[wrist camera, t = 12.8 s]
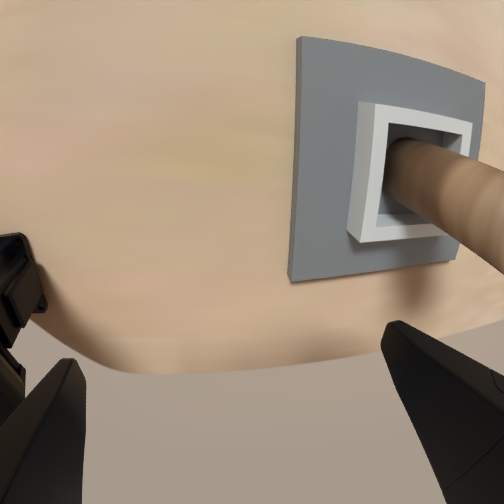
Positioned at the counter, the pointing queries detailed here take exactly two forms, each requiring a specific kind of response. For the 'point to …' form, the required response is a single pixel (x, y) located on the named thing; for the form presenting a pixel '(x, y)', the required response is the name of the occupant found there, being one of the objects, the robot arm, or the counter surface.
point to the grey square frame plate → (369, 155)
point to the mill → (449, 194)
